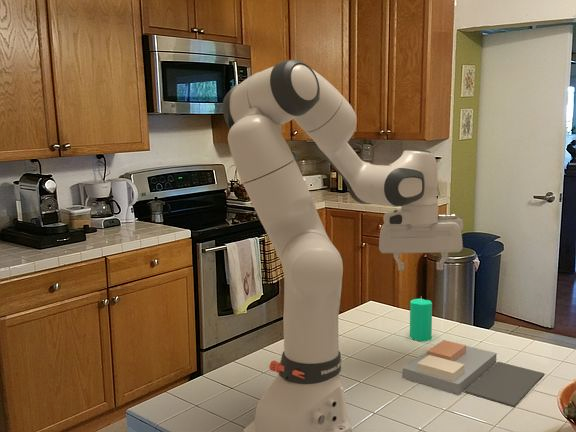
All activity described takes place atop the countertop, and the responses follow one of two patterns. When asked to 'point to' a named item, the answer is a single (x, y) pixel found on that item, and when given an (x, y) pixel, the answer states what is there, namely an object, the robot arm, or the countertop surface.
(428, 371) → the cream tile
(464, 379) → the platform
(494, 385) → the mat
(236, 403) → the countertop surface
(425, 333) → the candle
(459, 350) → the terracotta tile
